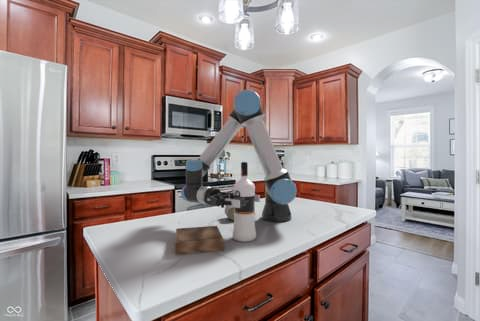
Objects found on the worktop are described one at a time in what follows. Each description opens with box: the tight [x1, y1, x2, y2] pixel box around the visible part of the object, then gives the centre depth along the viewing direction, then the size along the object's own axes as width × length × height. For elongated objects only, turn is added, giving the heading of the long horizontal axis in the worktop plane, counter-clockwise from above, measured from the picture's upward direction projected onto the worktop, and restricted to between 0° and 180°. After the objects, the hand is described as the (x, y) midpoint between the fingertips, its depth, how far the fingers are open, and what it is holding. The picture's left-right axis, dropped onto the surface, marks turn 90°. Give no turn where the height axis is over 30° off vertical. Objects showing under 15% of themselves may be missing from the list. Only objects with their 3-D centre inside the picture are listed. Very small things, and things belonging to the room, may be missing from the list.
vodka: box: [232, 161, 257, 243], centre depth 95 cm, size 9×9×30 cm
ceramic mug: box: [224, 206, 234, 221], centre depth 125 cm, size 11×8×8 cm
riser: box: [174, 225, 225, 256], centre depth 90 cm, size 16×16×4 cm
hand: (250, 201), depth 94 cm, fingers open, 13 cm apart
